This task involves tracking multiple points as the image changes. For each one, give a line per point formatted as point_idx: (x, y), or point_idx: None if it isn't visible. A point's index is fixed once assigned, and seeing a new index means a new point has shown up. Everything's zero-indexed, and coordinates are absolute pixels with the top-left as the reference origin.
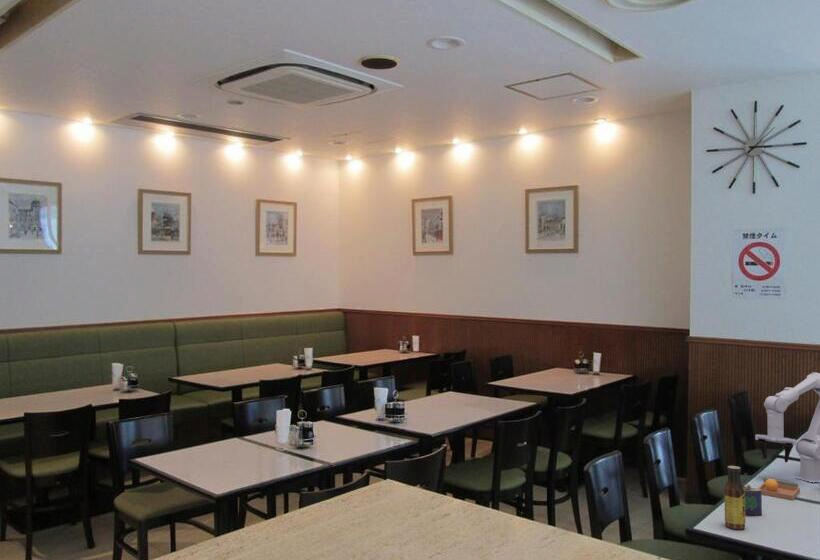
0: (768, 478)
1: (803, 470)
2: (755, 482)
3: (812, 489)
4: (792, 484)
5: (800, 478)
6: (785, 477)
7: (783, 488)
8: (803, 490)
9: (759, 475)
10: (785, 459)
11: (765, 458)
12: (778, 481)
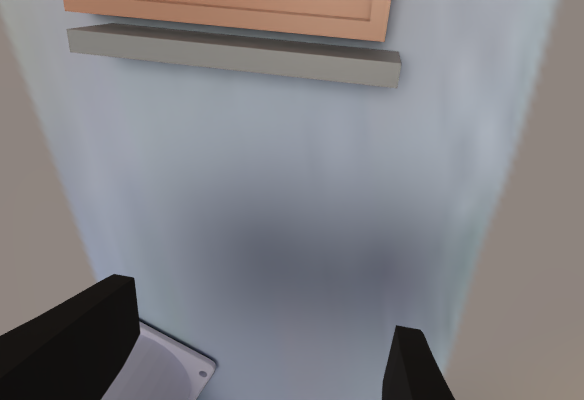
0: (350, 78)
1: (132, 395)
2: (478, 122)
3: (61, 164)
4: (119, 31)
5: (181, 352)
6: (274, 361)
7: (212, 4)
8: (95, 99)
9: (445, 340)
10: (95, 292)
11: (396, 333)
12: (247, 47)
